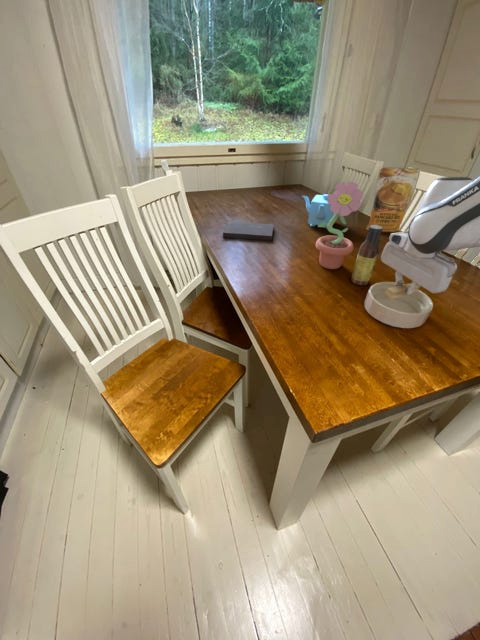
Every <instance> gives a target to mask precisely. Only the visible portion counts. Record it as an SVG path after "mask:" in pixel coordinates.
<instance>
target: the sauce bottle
mask: <svg viewBox="0 0 480 640" xmlns="http://www.w3.org/2000/svg"><path fill="white" fill-rule="evenodd" d="M382 229H383V228H382V227H381V226H377V225H371V226H369V229H368V230H367V236H366V237H365V241H364V242H362V244H360V246H359V250H358V253H357V255H356V260H355V263H354V266H353V271H352V274H351V282H352V283H353V284H354V285H357V286H367V285H368V284H369V282H370V280H371V278H372V275H373V272H374V269H375V265H376V262H377V259H378V257H379V253H380V242H379V241H380V237H381V234H382V233H383V232H382Z"/></svg>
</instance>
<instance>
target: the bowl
mask: <svg viewBox="0 0 480 640" xmlns="http://www.w3.org/2000/svg"><path fill="white" fill-rule="evenodd" d="M395 282H396V281H380V282H376V283H374V284H372V285H371V286H370V287H369V289H368V291H367V293H366V296H365V299H364V302H363V303H364V309H365V310H366V312H367V313H368V314H369V315H370V316H371V317H372V318H374V319H375V320H377V321H379V322H380V323H382V324H385V325H388V326H391V327H395V328H400V329H414V328H415V329H416V328H418V327H421V326H422V325H423V324H425V323H426V322H427V319H428V318H429V316H430V315H431V312H432V311H433V307H434V303H433V301H432V299H431V298H430V297H429V296H428V295H427V294H426V293H425V292H423V291H422V290H421V289H419V290H418V292H417V293H416V294H411V295H407V296H402V297H398V298H393V299H389V298H388V297H387V296H385V292H386V290H387V288H390V287H394V286H395V285H394V284H395ZM404 284H405V283H404ZM404 284H403V285H404Z"/></svg>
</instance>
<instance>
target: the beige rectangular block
mask: <svg viewBox="0 0 480 640" xmlns="http://www.w3.org/2000/svg"><path fill="white" fill-rule="evenodd" d="M412 285H413V284H412V282H410V283H404V285H399V286H394V287H390V288H387V290H386V292H385V296H387V297H388V298H389V299H393V298H398V297H402V296H407V295H411V294H407V293H406V292H404V291H405V288H406V287H409V286H412ZM420 288H421V286H419V287H417V288H415V289H414V291H413V293H412V294H416V293H417V292H418V290H420Z"/></svg>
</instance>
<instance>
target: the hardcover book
mask: <svg viewBox="0 0 480 640" xmlns="http://www.w3.org/2000/svg"><path fill="white" fill-rule="evenodd" d="M274 227H275V224H274V223H259V222H245V221H244V222H243V221H228V222H227V225H226V227H225V229H224V230H223V232H222V237H223V238H229V239H230V238H231V239H245V240H258V241H273V234H274Z"/></svg>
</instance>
